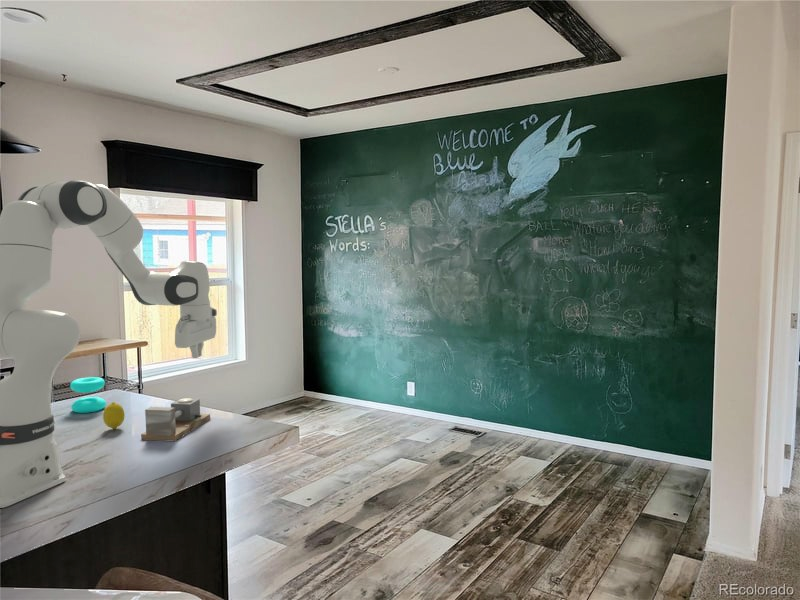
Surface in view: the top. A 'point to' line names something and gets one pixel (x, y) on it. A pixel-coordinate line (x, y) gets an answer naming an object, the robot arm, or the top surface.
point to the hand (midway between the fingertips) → (197, 357)
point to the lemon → (113, 415)
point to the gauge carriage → (186, 409)
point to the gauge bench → (178, 429)
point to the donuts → (89, 402)
